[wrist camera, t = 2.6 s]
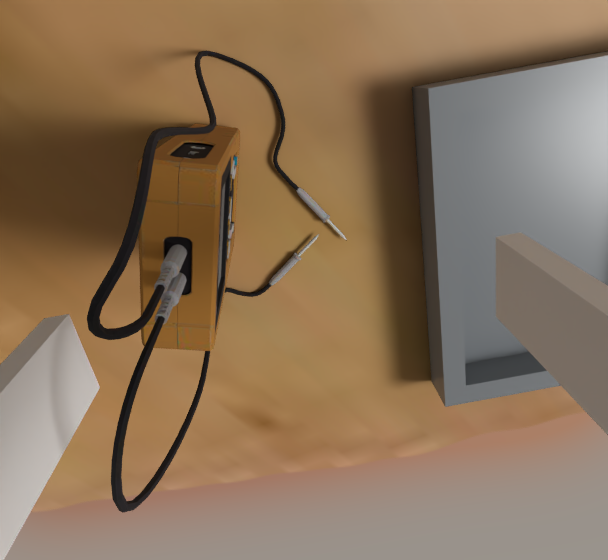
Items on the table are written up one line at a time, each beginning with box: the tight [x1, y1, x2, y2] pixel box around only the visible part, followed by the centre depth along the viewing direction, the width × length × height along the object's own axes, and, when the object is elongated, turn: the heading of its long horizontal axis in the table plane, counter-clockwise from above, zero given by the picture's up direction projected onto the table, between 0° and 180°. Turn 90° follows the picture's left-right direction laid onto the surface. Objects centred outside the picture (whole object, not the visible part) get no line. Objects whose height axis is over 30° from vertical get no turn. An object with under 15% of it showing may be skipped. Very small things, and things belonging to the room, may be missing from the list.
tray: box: [412, 51, 608, 407], centre depth 30 cm, size 18×21×3 cm
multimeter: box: [87, 51, 347, 512], centre depth 20 cm, size 15×10×20 cm
